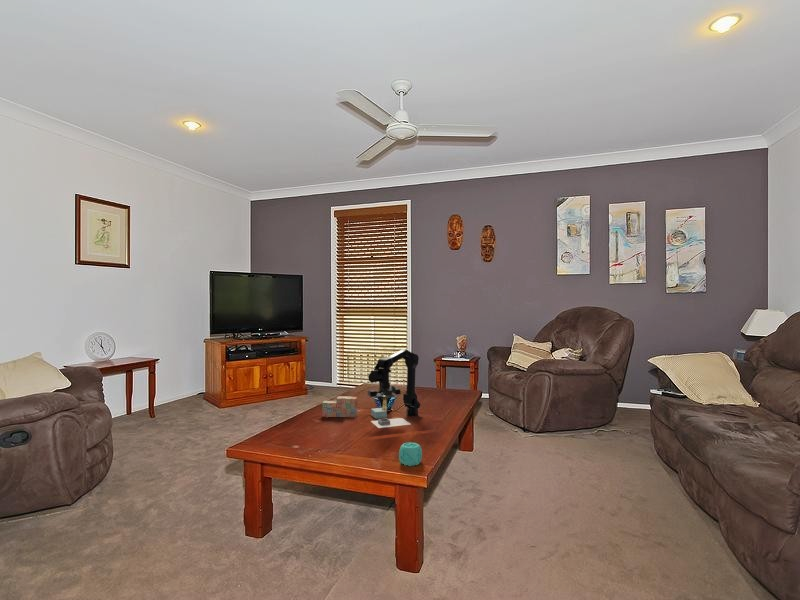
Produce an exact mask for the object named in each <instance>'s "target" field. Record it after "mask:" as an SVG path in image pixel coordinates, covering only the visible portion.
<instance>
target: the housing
mask: <svg viewBox="0 0 800 600" xmlns="http://www.w3.org/2000/svg"><path fill="white" fill-rule="evenodd" d="M370 411H371V412H370V415H371V416H372V417H373V419H375V420H378V419H385V418H387V417H388V414H387V412H388V410H386V411H383V410H382V408H381V407H377V408H371V409H370ZM387 419H388V418H387Z"/></svg>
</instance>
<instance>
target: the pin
mask: <svg viewBox="0 0 800 600" xmlns="http://www.w3.org/2000/svg"><path fill="white" fill-rule="evenodd" d="M381 396H382V410H383V411H388V407H387V396H385V395H381Z"/></svg>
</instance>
